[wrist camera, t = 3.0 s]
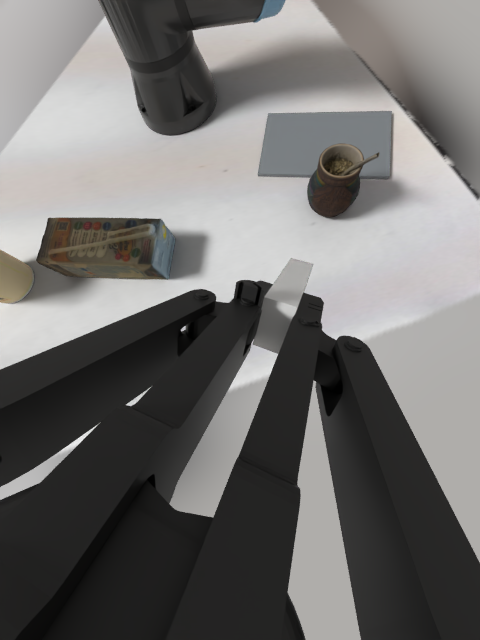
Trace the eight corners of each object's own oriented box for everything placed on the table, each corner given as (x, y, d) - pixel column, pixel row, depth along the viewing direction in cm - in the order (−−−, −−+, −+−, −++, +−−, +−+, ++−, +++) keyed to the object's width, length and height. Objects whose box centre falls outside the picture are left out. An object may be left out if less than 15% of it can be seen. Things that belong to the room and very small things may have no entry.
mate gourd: (311, 180, 40) (322, 117, 30) (359, 188, 38) (387, 124, 29) (299, 218, 39) (307, 164, 29) (348, 227, 37) (374, 174, 28)
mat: (268, 116, 44) (268, 113, 44) (390, 114, 41) (391, 111, 40) (258, 176, 42) (257, 173, 41) (388, 179, 38) (389, 176, 38)
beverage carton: (170, 283, 39) (149, 264, 33) (65, 279, 42) (28, 261, 36) (177, 239, 41) (160, 213, 35) (77, 237, 44) (43, 214, 38)
